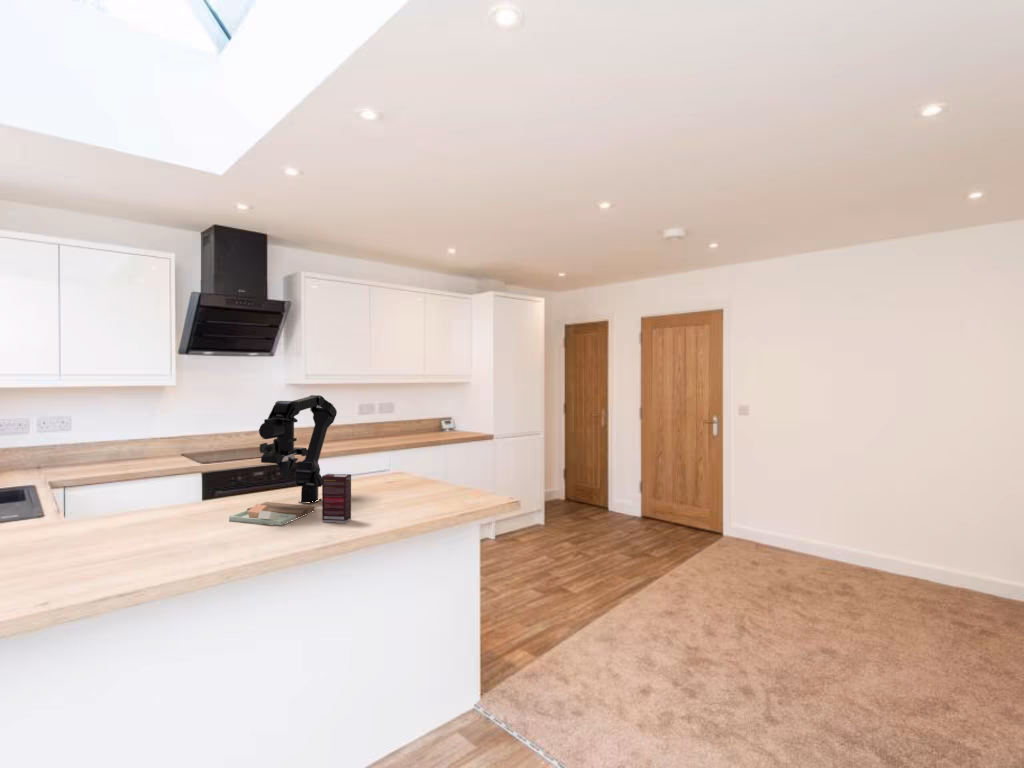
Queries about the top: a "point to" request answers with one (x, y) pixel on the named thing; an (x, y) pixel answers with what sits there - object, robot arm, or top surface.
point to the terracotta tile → (257, 510)
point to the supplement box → (336, 498)
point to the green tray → (245, 518)
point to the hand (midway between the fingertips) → (285, 478)
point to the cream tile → (268, 515)
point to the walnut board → (288, 508)
